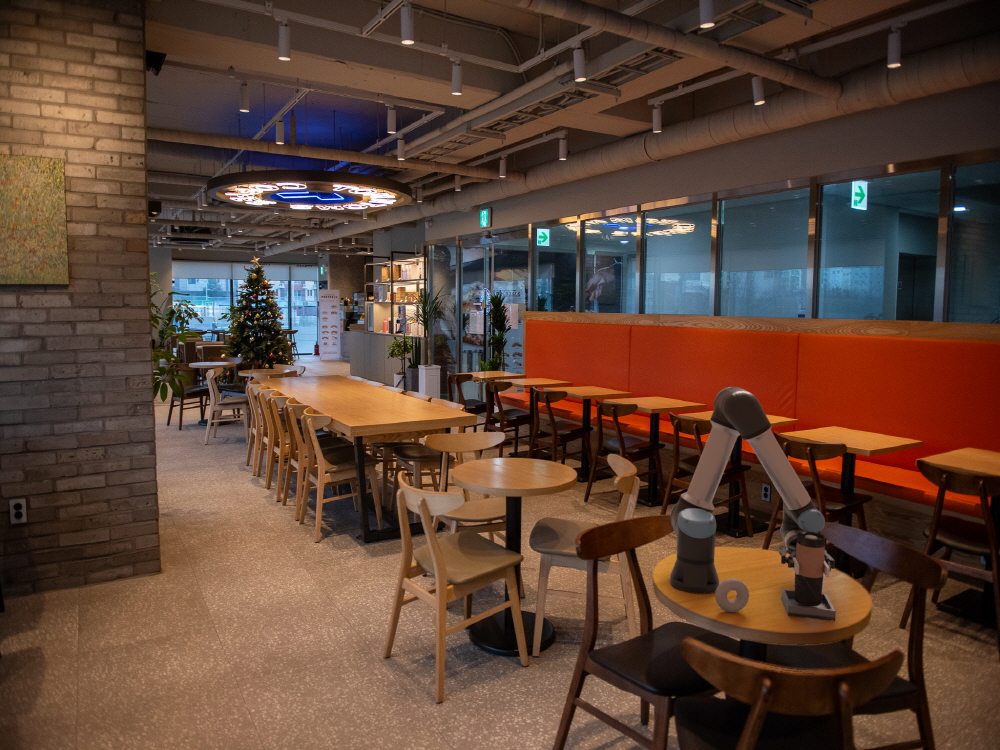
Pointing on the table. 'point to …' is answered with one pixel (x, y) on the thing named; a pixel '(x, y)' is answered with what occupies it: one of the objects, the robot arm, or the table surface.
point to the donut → (725, 589)
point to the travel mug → (809, 568)
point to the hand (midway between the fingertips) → (812, 571)
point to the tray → (808, 607)
